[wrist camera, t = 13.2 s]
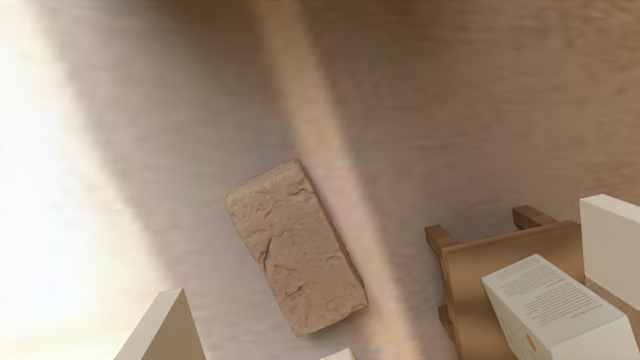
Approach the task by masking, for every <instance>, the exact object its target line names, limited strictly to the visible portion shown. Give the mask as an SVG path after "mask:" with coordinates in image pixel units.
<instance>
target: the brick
mask: <svg viewBox="0 0 640 360" xmlns="http://www.w3.org/2000/svg"><path fill="white" fill-rule="evenodd" d="M225 207H226V210H227V212H228V214H229V215H230V217H231V219H232V221H233V224H234V226H235V227H236V229H237V231H238V233H239V235H240V237H241V239H242V241H243V242H244V244H245V245H246V246H247V248H248V249H249V250H250V252H251V254H252V256H253V257H254V259H255V260H256V261H257V262H258V266H259V267H260V269H261V270H262V271H263V273H264V275H265V276H266V279H267V281H268V284H269V286H270V287H271V289H272V290H273V292H274V295H275V299H276V300H278V303H279V307H280V308H281V310H282V312H283V314H284V316H285V318H286V319H287V321H288V323H289V324H290V326H291V328H292V330H293V332H294V334H295V335H296V336H297V337H303V336H305V335H308V334H310V333H311V332H317V331H319V330H321V329H323V328H325V327H327V326H329V325H332V324H334V323H336V322H338V321H340V320H342V319H343V318H345V317H346V316H348V315H350V314H352V313H354V312H356V311H358V310H359V309H362V308H364V307H366V306H367V305H368V299H367V295H366V292H365V288H364V284H363V281H362V279H361V277H360V275H359V274H358V272H357V270H356V268H355V266H354V264H353V263H352V261H351V259H350V256H349V253H348V251H347V250H346V248H345V246H344V244H343V242H342V240H341V238H340V236H339V234H338V233H337V231H336V229H335V227H334V225H333V223H332V221H331V219H330V218H329V215H328V213H327V211H326V210H325V208H324V206H323V204H322V202H321V200H320V198H319V196H318V194H317V192H316V190H315V188H314V186H313V184H312V181H311V179H310V177H309V176H308V174H307V172H306V171H305V169H304V167H303V165H302V164H301V162H300V160H299V159H293V160H289V161H288V162H282V163H280V164H279V165H278V166H276V167H275V168H272V169H271V170H268V171H266V172H264V173H262V174H260V175H256V176H254V177H252V178H247V179H244V180H243V181H241V182H239V183H237V184H235V185H234V186H233V187H232V188H231V189H230V192H229V193H228V194H227V197H226V204H225Z"/></svg>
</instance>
